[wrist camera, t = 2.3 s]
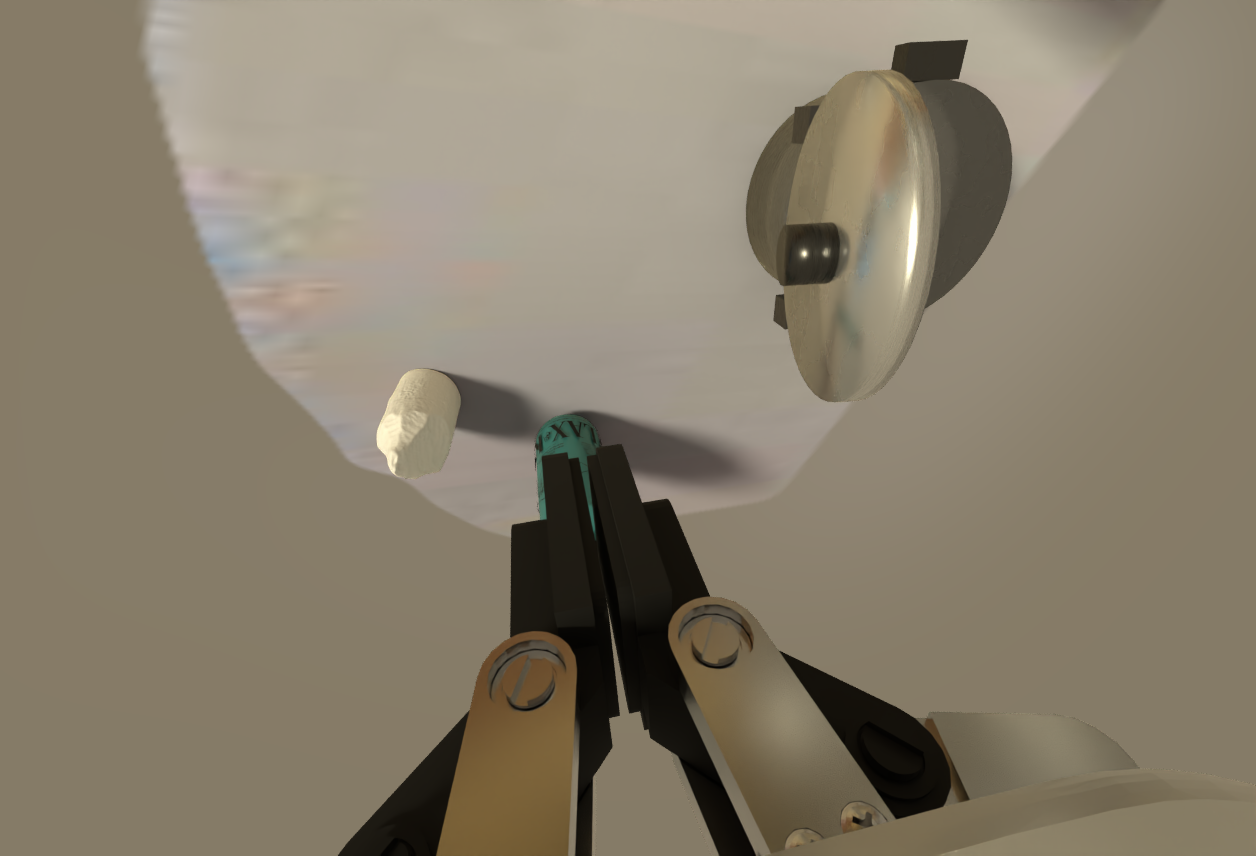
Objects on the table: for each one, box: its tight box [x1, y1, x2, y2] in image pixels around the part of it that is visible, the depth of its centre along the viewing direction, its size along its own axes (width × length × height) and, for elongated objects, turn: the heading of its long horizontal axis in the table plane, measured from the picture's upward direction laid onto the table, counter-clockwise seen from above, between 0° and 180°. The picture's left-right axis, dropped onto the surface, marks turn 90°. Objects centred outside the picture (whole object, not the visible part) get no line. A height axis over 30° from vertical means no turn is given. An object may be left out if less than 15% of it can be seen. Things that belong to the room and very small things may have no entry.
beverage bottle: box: [534, 415, 602, 558], centre depth 43 cm, size 6×7×20 cm
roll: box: [377, 369, 461, 479], centre depth 41 cm, size 6×12×6 cm
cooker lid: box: [776, 70, 941, 402], centre depth 28 cm, size 16×16×4 cm
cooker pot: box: [746, 40, 1012, 329], centre depth 40 cm, size 20×17×11 cm
